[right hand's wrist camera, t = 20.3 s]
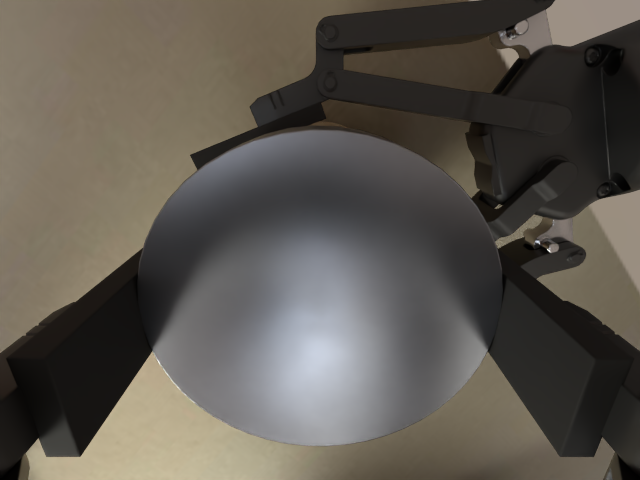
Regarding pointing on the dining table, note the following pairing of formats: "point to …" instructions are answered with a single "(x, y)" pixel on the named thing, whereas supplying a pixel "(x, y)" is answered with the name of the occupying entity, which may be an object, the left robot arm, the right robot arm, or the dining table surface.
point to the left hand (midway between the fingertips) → (247, 248)
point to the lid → (320, 287)
